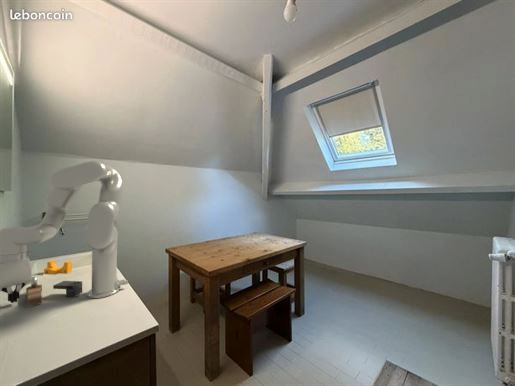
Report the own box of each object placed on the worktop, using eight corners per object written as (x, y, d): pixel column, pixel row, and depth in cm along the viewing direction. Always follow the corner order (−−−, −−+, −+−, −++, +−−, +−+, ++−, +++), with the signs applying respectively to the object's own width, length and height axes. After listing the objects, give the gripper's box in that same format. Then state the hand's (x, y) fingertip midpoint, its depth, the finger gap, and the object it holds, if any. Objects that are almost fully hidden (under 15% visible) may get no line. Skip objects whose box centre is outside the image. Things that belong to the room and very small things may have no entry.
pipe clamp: (44, 274, 122) (44, 263, 122) (51, 271, 126) (51, 260, 126) (64, 275, 121) (64, 263, 121) (71, 272, 126) (71, 261, 126)
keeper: (53, 296, 96) (53, 285, 96) (64, 291, 101) (64, 280, 101) (72, 297, 96) (72, 286, 96) (82, 292, 101) (82, 281, 101)
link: (26, 292, 100) (26, 286, 100) (41, 288, 103) (41, 283, 103) (25, 307, 87) (25, 301, 87) (43, 302, 90) (43, 296, 90)
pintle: (37, 284, 101) (37, 276, 101) (36, 286, 99) (36, 277, 99) (31, 286, 100) (31, 277, 100) (30, 287, 98) (30, 278, 98)
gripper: (36, 251, 98) (36, 292, 98) (-17, 260, 85) (-17, 306, 85) (41, 254, 93) (41, 296, 94) (-15, 263, 81) (-14, 312, 81)
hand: (13, 301), depth 89 cm, fingers closed
